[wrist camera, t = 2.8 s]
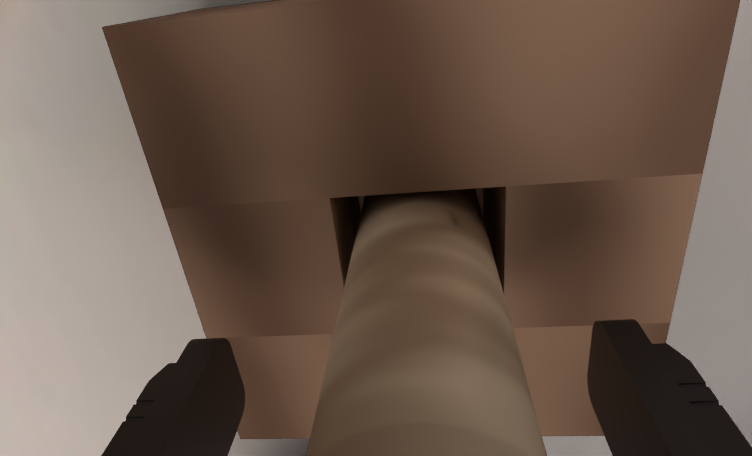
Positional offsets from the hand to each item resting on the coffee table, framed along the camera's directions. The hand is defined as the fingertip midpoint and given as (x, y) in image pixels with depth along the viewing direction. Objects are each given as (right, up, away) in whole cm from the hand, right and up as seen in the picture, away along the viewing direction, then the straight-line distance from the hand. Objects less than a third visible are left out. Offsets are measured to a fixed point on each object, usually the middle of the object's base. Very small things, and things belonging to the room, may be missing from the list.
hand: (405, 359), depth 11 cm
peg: (+1, +4, +7) cm, 8 cm away
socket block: (+1, +5, +8) cm, 10 cm away
